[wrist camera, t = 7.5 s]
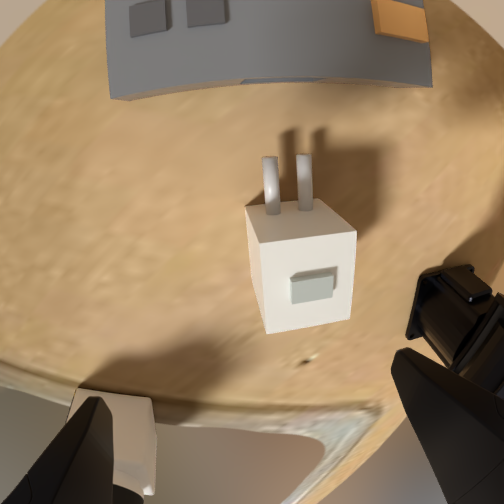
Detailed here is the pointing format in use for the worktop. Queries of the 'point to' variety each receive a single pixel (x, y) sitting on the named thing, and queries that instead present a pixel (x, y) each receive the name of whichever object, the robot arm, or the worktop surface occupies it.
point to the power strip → (263, 44)
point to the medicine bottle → (128, 443)
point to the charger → (299, 254)
